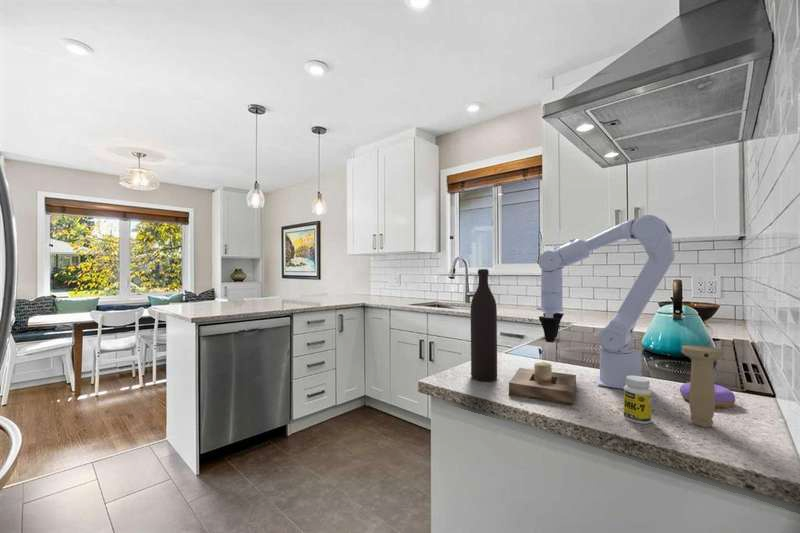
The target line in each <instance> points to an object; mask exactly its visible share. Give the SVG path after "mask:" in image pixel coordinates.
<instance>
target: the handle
mask: <svg viewBox="0 0 800 533" xmlns="http://www.w3.org/2000/svg"><path fill="white" fill-rule="evenodd" d="M681 353H682V354H683V355H684V356H687V357H688V358H689V359H690V363H691V368H690V378H689V379H690V380H689V382H690V389H689V401H688V404H689V411H690V419H691V422H692V423H693V425H696V426H700V427H702V428H707V427H708V428H712V427H713V424H714V420H713V419H714V415H715V409H716V407H715V388H714V384H715V378H714V377H715V376H714V375H715V374H714V363H715V362H716V361H718V360H721V359H724V357H725V350H724V349H722V348H718V347H712V346H711V347H710V346H704V345H703V346H702V345H681Z"/></svg>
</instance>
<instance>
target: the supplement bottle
mask: <svg viewBox="0 0 800 533" xmlns="http://www.w3.org/2000/svg"><path fill="white" fill-rule="evenodd" d="M626 384H627V385H625V386H624V389H623V413H622V414H623V417H624V419H625V420H627V421H629V422H631V423H635V424H640V425H641V424H643V425H645V424H649V423H651V422H652V394H653V393H652V391H651V389H650V379H649V378H646V377H643V376H642V377H640V376H627V377H626Z"/></svg>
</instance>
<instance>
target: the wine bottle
mask: <svg viewBox="0 0 800 533" xmlns="http://www.w3.org/2000/svg"><path fill="white" fill-rule="evenodd" d="M477 276H478V283H477V284H478V285H477V287H476V291H475V292H474V293H473V297H472V298H471V302H470V375H471V376H470V377H471V378H472V379H474V380H476V381H479V382H492V381H496V380H497V379H498V322H497V321H498V320H497V319H498V309H497V307H498V306H497V303H496V302H497V301H496V298H495V296H494V295H493V292H492V291H491V288H490V287H489V286H490V285H489V269H488V268H478V270H477Z"/></svg>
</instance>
